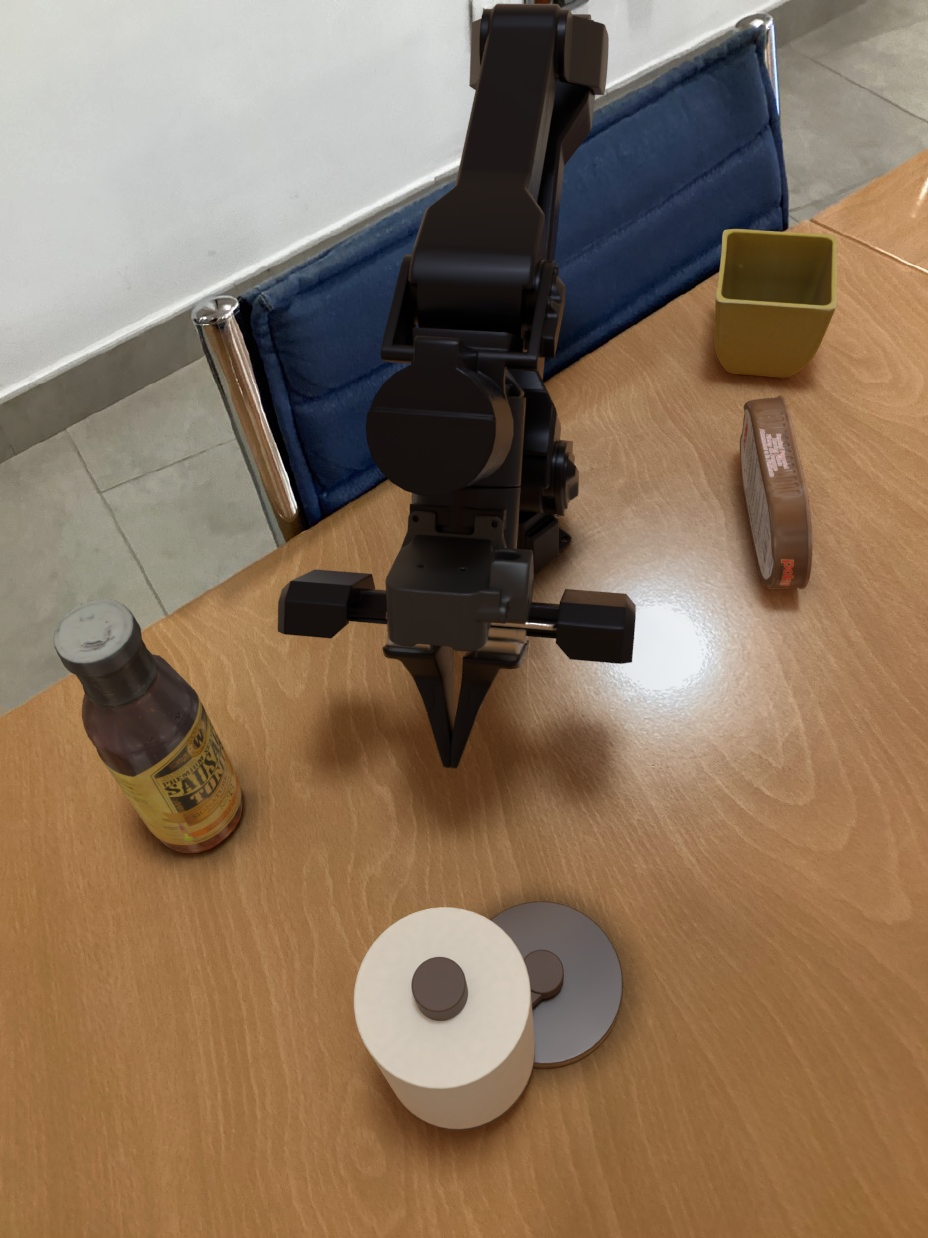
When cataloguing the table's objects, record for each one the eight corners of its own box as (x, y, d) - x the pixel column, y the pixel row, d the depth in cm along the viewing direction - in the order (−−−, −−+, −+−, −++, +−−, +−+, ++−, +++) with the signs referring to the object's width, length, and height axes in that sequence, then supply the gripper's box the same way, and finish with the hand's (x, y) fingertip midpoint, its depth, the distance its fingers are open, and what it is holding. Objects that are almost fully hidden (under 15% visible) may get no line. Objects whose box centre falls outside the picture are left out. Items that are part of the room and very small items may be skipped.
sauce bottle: (222, 869, 65) (111, 708, 49) (134, 842, 67) (-2, 677, 51) (266, 777, 69) (175, 598, 53) (181, 753, 70) (68, 572, 54)
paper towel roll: (385, 1137, 55) (343, 1085, 44) (389, 962, 60) (352, 876, 49) (574, 1131, 55) (578, 1076, 44) (562, 955, 60) (563, 867, 49)
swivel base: (431, 979, 61) (429, 974, 60) (544, 876, 64) (544, 870, 63) (539, 1105, 57) (539, 1101, 56) (656, 989, 60) (657, 984, 59)
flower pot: (813, 399, 85) (837, 307, 77) (702, 389, 86) (715, 299, 79) (815, 326, 89) (838, 233, 82) (709, 318, 91) (723, 227, 84)
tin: (802, 612, 73) (828, 535, 66) (756, 614, 73) (776, 537, 66) (769, 453, 82) (789, 369, 75) (728, 454, 82) (743, 372, 75)
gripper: (241, 481, 49) (237, 798, 52) (647, 507, 47) (618, 841, 50) (312, 470, 60) (306, 734, 63) (645, 491, 57) (621, 766, 60)
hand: (451, 766), depth 59 cm, fingers closed
